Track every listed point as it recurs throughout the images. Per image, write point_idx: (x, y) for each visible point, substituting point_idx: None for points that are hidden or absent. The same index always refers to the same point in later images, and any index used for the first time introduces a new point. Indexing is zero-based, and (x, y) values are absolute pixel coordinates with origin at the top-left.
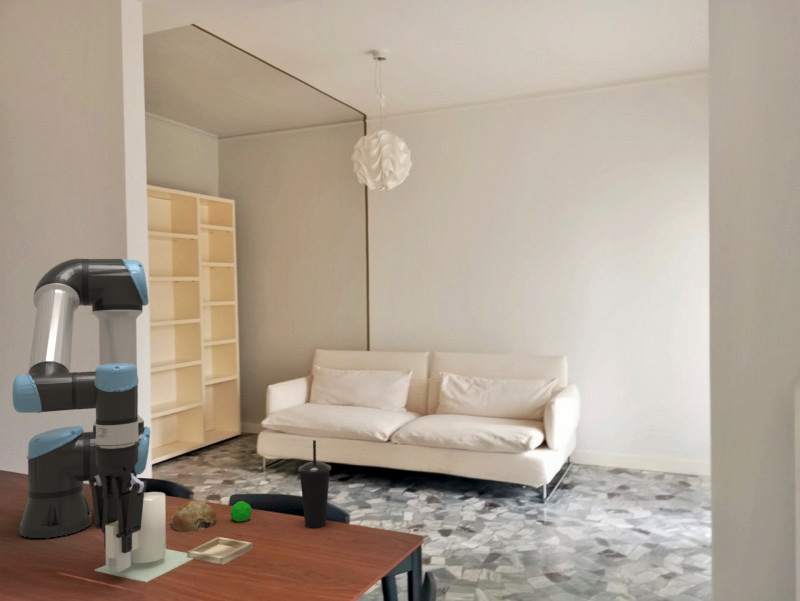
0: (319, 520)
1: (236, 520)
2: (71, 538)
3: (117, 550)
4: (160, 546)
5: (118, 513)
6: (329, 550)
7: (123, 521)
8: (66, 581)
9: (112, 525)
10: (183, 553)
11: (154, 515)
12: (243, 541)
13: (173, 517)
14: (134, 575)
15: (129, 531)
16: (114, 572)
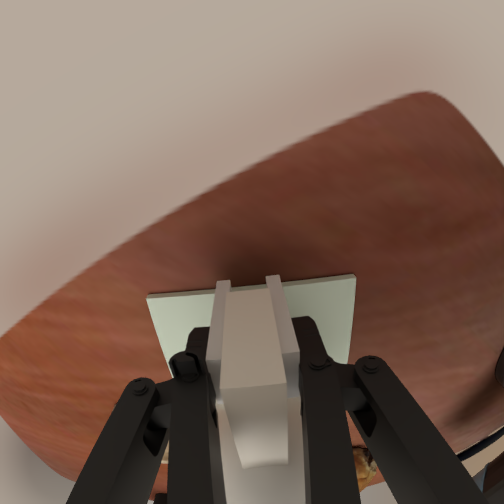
0: (154, 501)
1: None
2: (500, 337)
3: (219, 320)
4: None
5: (202, 464)
6: (77, 456)
7: (170, 428)
8: (377, 201)
9: (242, 396)
10: None
11: None
12: (161, 462)
13: (363, 465)
14: (212, 309)
15: (132, 388)
16: (285, 295)
